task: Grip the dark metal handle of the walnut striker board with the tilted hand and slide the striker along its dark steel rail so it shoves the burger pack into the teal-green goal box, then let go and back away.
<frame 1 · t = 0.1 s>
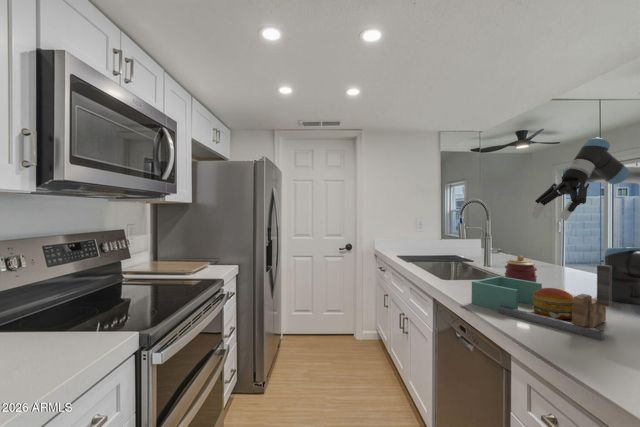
hand: (547, 217, 118), 36 cm above the counter, tool tilted 35°, fingers open, 13 cm apart
canister: (520, 293, 146), on the counter
striker: (595, 296, 100), point 10 cm above the counter, slide at 0.0 cm
burger: (553, 316, 113), on the counter
egg carton: (575, 308, 124), on the counter
rail: (545, 324, 104), on the counter
goal: (506, 304, 127), on the counter
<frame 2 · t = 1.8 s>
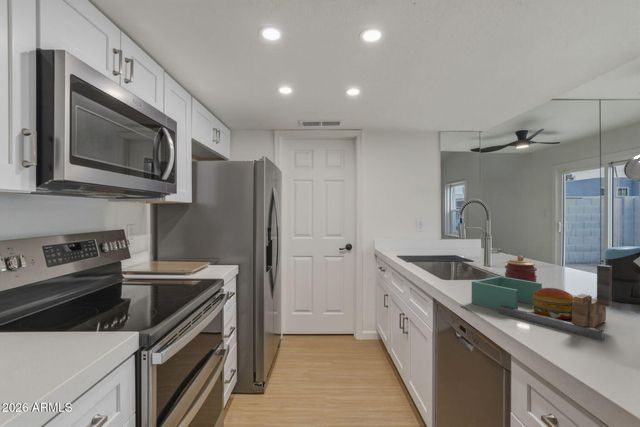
nothing on the counter moved.
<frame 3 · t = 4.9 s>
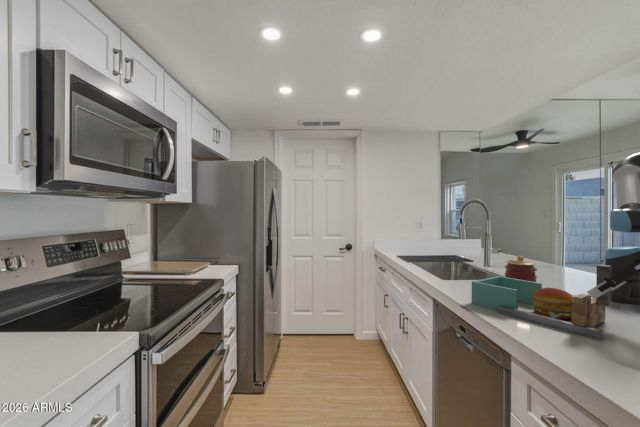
hand: (597, 292, 103), 11 cm above the counter, tool tilted 45°, fingers open, 13 cm apart
striker: (595, 296, 101), point 10 cm above the counter, slide at 0.1 cm, touching gripper
everything else where it was.
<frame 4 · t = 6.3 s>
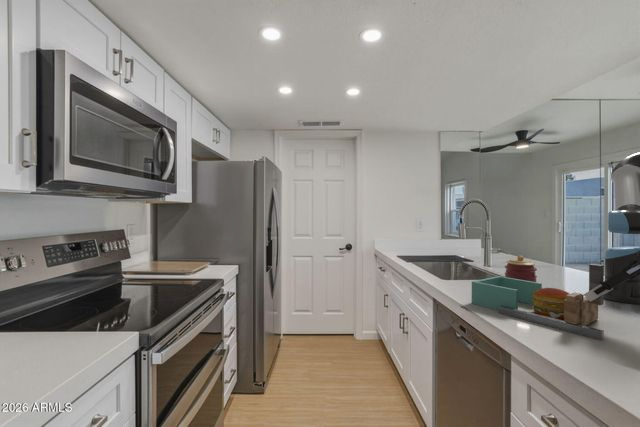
hand: (589, 297, 105), 9 cm above the counter, tool tilted 45°, fingers closed on striker, 3 cm apart
striker: (587, 295, 102), point 10 cm above the counter, slide at 2.1 cm, touching gripper
everything else where it was.
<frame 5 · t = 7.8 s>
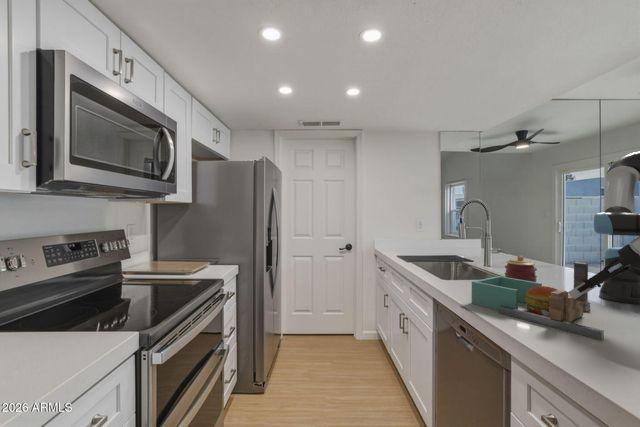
hand: (573, 294, 108), 9 cm above the counter, tool tilted 45°, fingers closed on striker, 4 cm apart
striker: (572, 292, 106), point 10 cm above the counter, slide at 6.2 cm, touching burger, gripper
burger: (546, 314, 115), on the counter, touching striker
everything else where it was.
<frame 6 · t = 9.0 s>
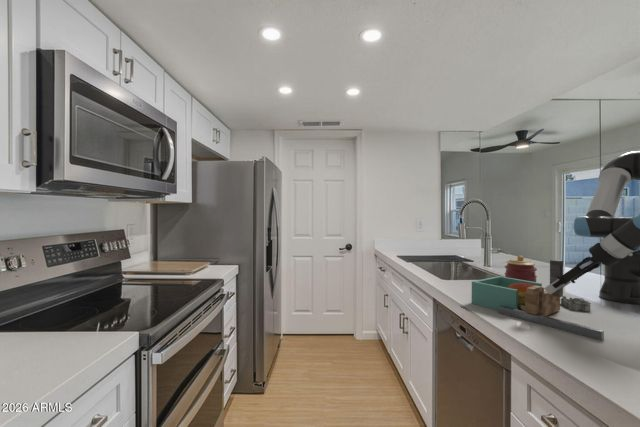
hand: (550, 290, 114), 9 cm above the counter, tool tilted 45°, fingers closed on striker, 4 cm apart
striker: (548, 288, 111), point 10 cm above the counter, slide at 13.3 cm, touching burger, gripper
burger: (525, 309, 121), on the counter, touching striker
everything else where it was.
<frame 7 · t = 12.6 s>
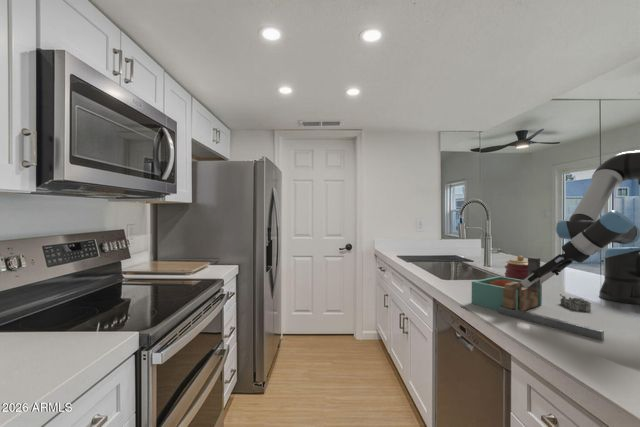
hand: (530, 283, 119), 10 cm above the counter, tool tilted 45°, fingers open, 12 cm apart
striker: (526, 284, 118), point 10 cm above the counter, slide at 20.5 cm, touching gripper
burger: (505, 304, 127), on the counter
everything else where it was.
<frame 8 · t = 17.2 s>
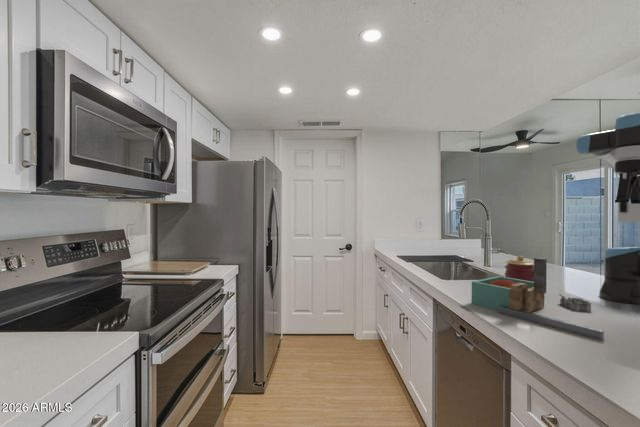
hand: (629, 222, 105), 35 cm above the counter, tool pointing down, fingers open, 13 cm apart
striker: (532, 285, 116), point 10 cm above the counter, slide at 18.5 cm
everything else where it was.
at the end: burger inside the target area (0.7 cm from its centre), on the counter; striker slide at 18.5 cm; burger tilted 0° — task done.
